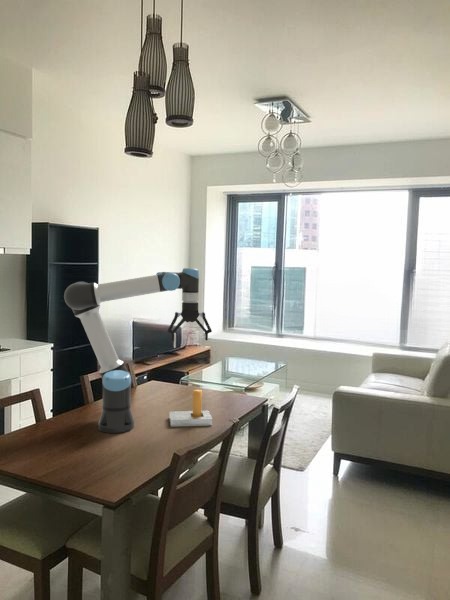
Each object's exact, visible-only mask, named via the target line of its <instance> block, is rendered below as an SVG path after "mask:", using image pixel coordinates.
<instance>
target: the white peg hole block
mask: <svg viewBox="0 0 450 600" xmlns="http://www.w3.org/2000/svg"><path fill="white" fill-rule="evenodd" d="M168 414H169V424H170V427H171V428H173V427H176V428H177V427H203V426H206V427H207V426H208V427H209V426H213V417H212V415H211V413H210V411H209V410H208V409H207V410H202V416H201V417H193V410H185V411H184V410H183V411H181V410H180V411H179V410H177V411H176V410H175V411H169V413H168Z"/></svg>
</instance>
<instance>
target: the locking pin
mask: <svg viewBox="0 0 450 600" xmlns="http://www.w3.org/2000/svg"><path fill="white" fill-rule="evenodd" d="M202 400H203V390H202V389H193V390H192V411H193V417H201V416H202V411H203V410H202V409H203V408H202V406H203V405H202V404H203V403H202V402H203V401H202Z"/></svg>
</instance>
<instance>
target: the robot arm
mask: <svg viewBox="0 0 450 600" xmlns="http://www.w3.org/2000/svg"><path fill="white" fill-rule="evenodd" d="M199 275H200V274H199V269H198V268H191V267H190V268H186V267H183V268H182V271H181V272H178V271H177V272H174V271H158V272H156V274H153V275H148V276H142V277H135V278H128V279H123V280H117V281H110V282H106V283H105V282H104V283H99V284H98V283H96V282H90V283H88V282H86V281H77V282H76V281H75V283H72V284H70V285H68V286H67V288H66V289H65V290H64V295H63V298H64V302H65V304H66V306H68V307H69V308H70V309H71V310H72V312H73V314H74V317H76V318H79V320H80V322H81V324H82V326H83V328H84V331H85V333H86V336H87V338H88V340H89V342H90V345H91V347H92V350H93V352H94V354H95V356H96V359H97V361H98V364H99V366H100V368H99V375H100V377H101V379H102V409H101V414H100V416H99V417H100V418H99V420H98V424H97V426H98V428H97V429H98V430H99V431H100V432H102V433H108V434H120V433H126V432H129V431H132V430H133V429H134V428H135V418H134V415H133V413H132V409H131V405H132V403H131V401H132V400H131V399H132V398H131V394H132V393H131V392H132V389H131V388H132V387H131V386H132V376H131V375H132V374H131V373H130V371H129V370H128V368H127V367H126V364H125V362H124V360H122V359H120V358H119V356H118V354H117V352H116V349H115V347H114V345H113V344H114V343H113V342H112V340H111V337H110V334H109V333H108V330H107V328H106V325H105V322H104V321H103V319H102V316H101V313H100V311H99V310H100V308H101V303H104V302H110V301H115V300H116V301H117V300H121V299H128V298H132V297H133V298H134V297H138V296H139V297H140V296H144V295H151V294H156V293H162V292H168V291H170V292H171V291H173V292H174V291H176V290H181V289H182V290H181V291H182V292H181V293H182V295H181V298H182V299H181V301H182V303H181V312H178V311H175V313H174V317H173V319H172V321H171V323H170V325H169V327H168V329H167V332H168V333H170V334H171V335H170V337H171V339H170V340H171V341H173V348H174V349H176V348H177V347H176V346H177V333H176V332H177V330H179V329H180V327H181V326H182V325H183V324H184V323H185V322H186V323H190V322H191V323H194V322H196V324H197V325H198V326H199V327H200V328H201V330H202V331H203V333H202V337H203V338H202V348H203V349H206V341H208V340H209V339H208V337H209V335H208V334H210V333H212V332H213V330H212V328H211V326H210V323H209V322H208V319H207V318H206V313H205V312H204V311H202V312H199V303H198V302H199V289H200V288H199V285H200V276H199ZM180 316H181V317H182V318H181V320H180V321H179V322H178V323H177V325H175V324H176V322H177V319H178V318H180ZM199 317H200V318H202V320H203V323H204V324H205V326H206V327H204V325H203V324H202V323H201V322H200V320H198V318H199ZM174 326H175V327H174ZM173 327H174V328H173ZM206 328H207V329H206Z"/></svg>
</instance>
